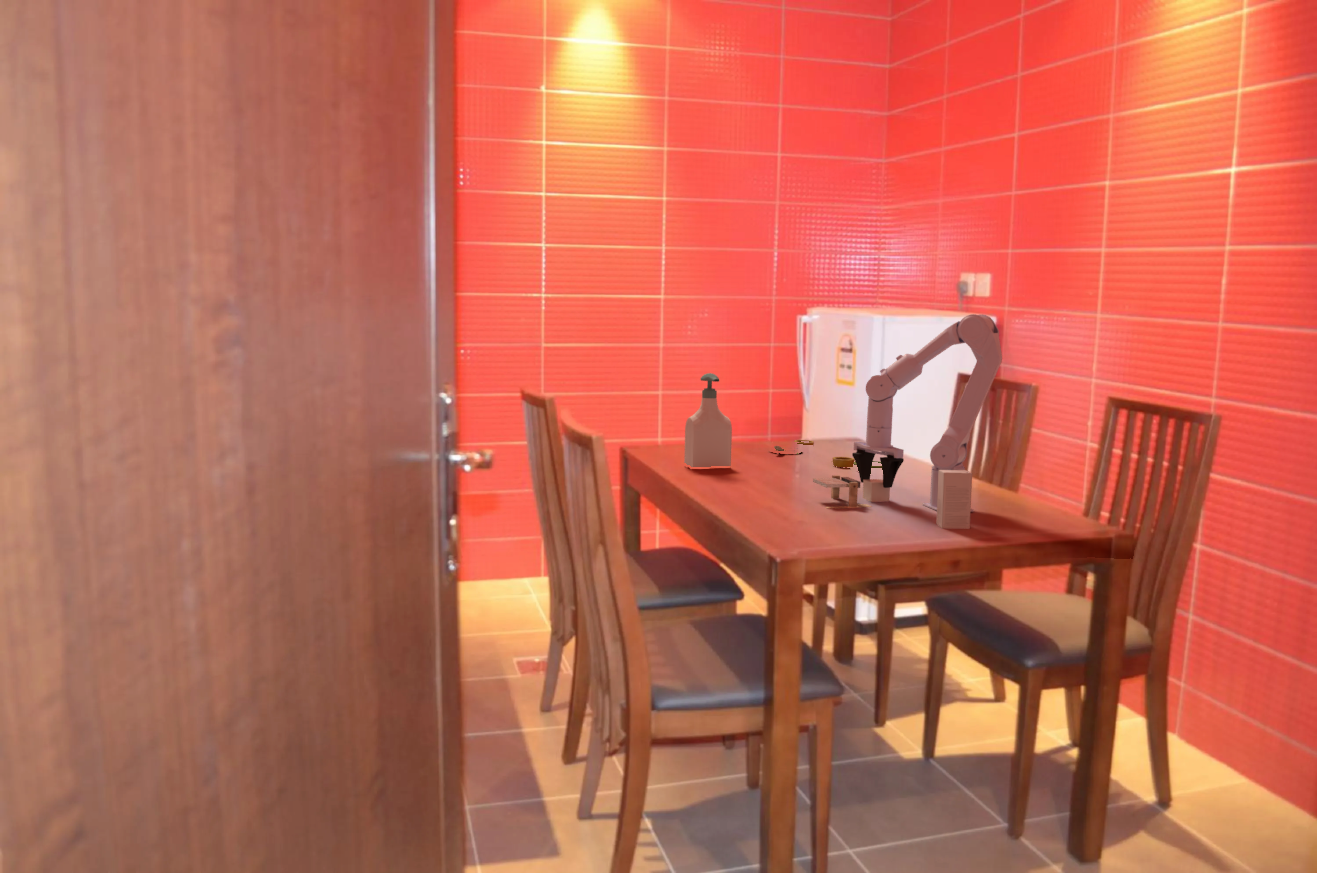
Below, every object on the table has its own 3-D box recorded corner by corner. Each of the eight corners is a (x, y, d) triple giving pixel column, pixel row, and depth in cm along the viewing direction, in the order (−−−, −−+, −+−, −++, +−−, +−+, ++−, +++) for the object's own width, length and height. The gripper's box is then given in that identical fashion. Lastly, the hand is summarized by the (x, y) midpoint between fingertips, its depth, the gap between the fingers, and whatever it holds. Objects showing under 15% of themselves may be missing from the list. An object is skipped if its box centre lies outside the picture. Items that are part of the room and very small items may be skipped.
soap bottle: (695, 478, 279) (697, 374, 275) (684, 473, 286) (686, 372, 283) (733, 476, 282) (736, 374, 279) (721, 472, 290) (724, 372, 287)
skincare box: (963, 525, 223) (966, 469, 222) (970, 529, 219) (973, 472, 217) (934, 525, 223) (938, 469, 221) (940, 529, 218) (944, 472, 217)
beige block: (889, 505, 245) (890, 482, 244) (870, 506, 244) (871, 482, 243) (880, 502, 249) (881, 479, 249) (862, 502, 248) (863, 479, 248)
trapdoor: (846, 482, 246) (846, 476, 246) (861, 488, 239) (861, 482, 239) (812, 483, 244) (813, 477, 244) (826, 489, 237) (826, 482, 236)
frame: (851, 501, 249) (852, 474, 248) (872, 510, 238) (873, 482, 238) (807, 502, 246) (808, 475, 246) (826, 511, 236) (828, 483, 235)
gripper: (914, 429, 241) (911, 488, 242) (870, 423, 253) (867, 478, 254) (891, 431, 237) (888, 490, 238) (848, 424, 249) (845, 480, 251)
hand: (876, 484), depth 246 cm, fingers open, 7 cm apart
